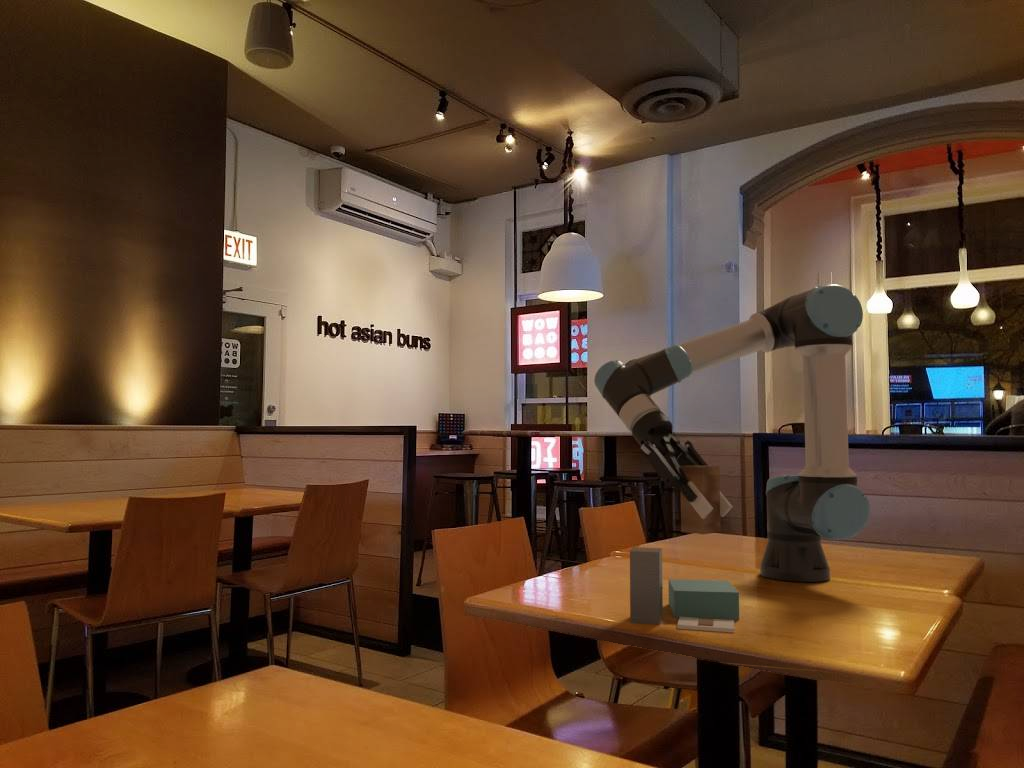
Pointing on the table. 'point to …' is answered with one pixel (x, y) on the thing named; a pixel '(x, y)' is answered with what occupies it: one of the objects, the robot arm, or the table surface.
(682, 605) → the teal pedestal
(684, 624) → the card
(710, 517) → the walnut block
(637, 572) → the grey metal block
